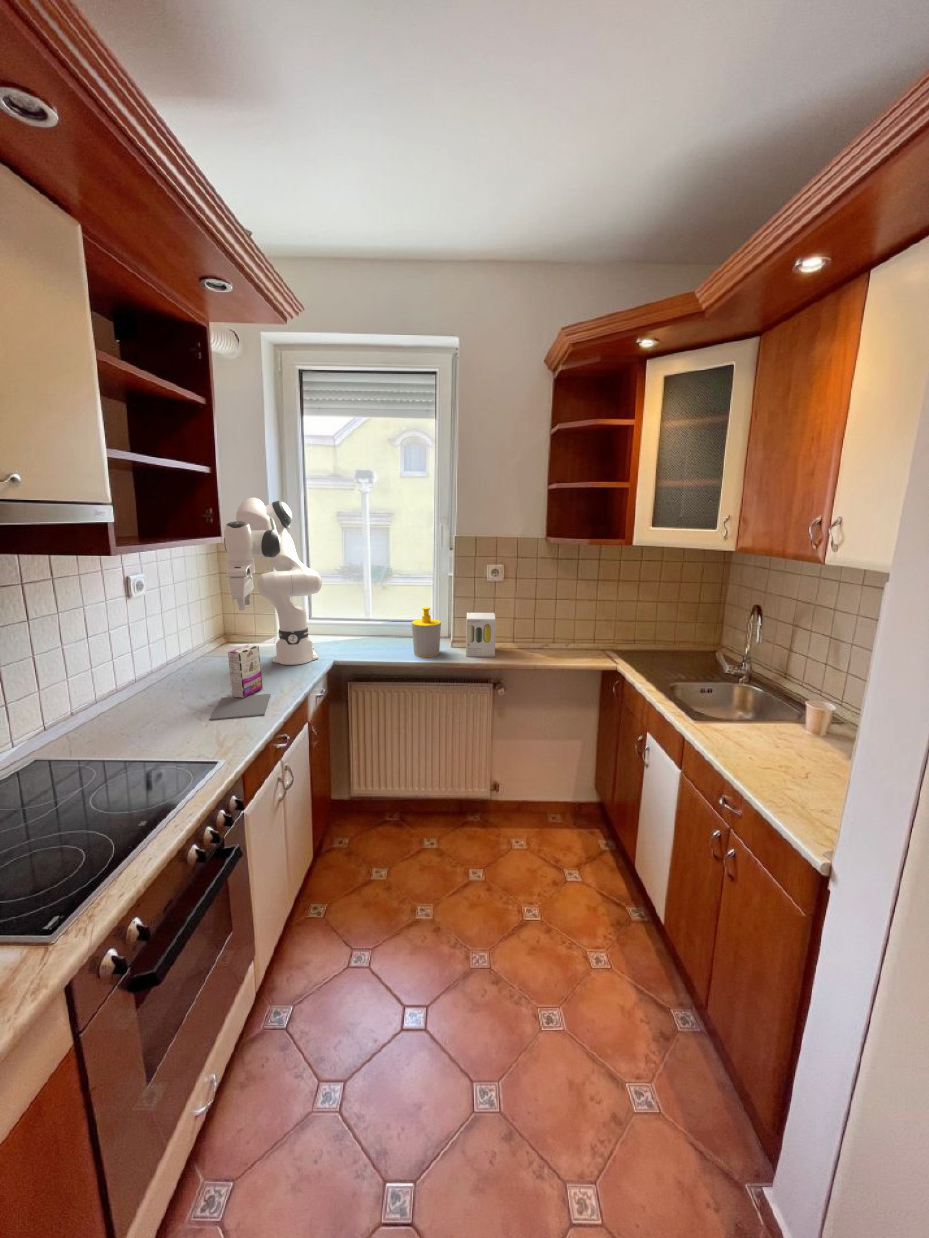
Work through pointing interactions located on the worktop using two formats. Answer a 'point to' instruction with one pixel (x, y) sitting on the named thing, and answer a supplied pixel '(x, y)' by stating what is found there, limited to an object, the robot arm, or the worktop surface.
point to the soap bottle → (426, 635)
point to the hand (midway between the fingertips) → (245, 607)
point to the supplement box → (480, 634)
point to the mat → (241, 707)
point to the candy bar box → (245, 671)
